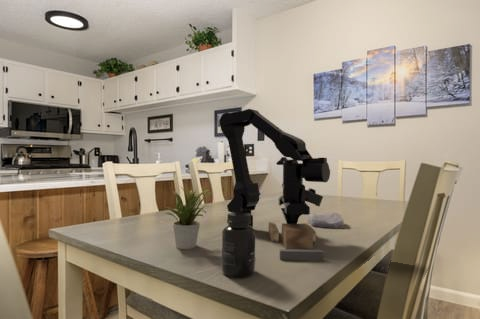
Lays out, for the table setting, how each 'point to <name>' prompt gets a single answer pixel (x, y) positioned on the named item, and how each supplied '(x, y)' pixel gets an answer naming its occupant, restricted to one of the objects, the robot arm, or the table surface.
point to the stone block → (326, 220)
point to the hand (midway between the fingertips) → (292, 233)
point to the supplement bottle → (238, 246)
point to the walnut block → (297, 236)
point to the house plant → (187, 220)
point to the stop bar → (301, 254)
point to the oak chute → (275, 233)
